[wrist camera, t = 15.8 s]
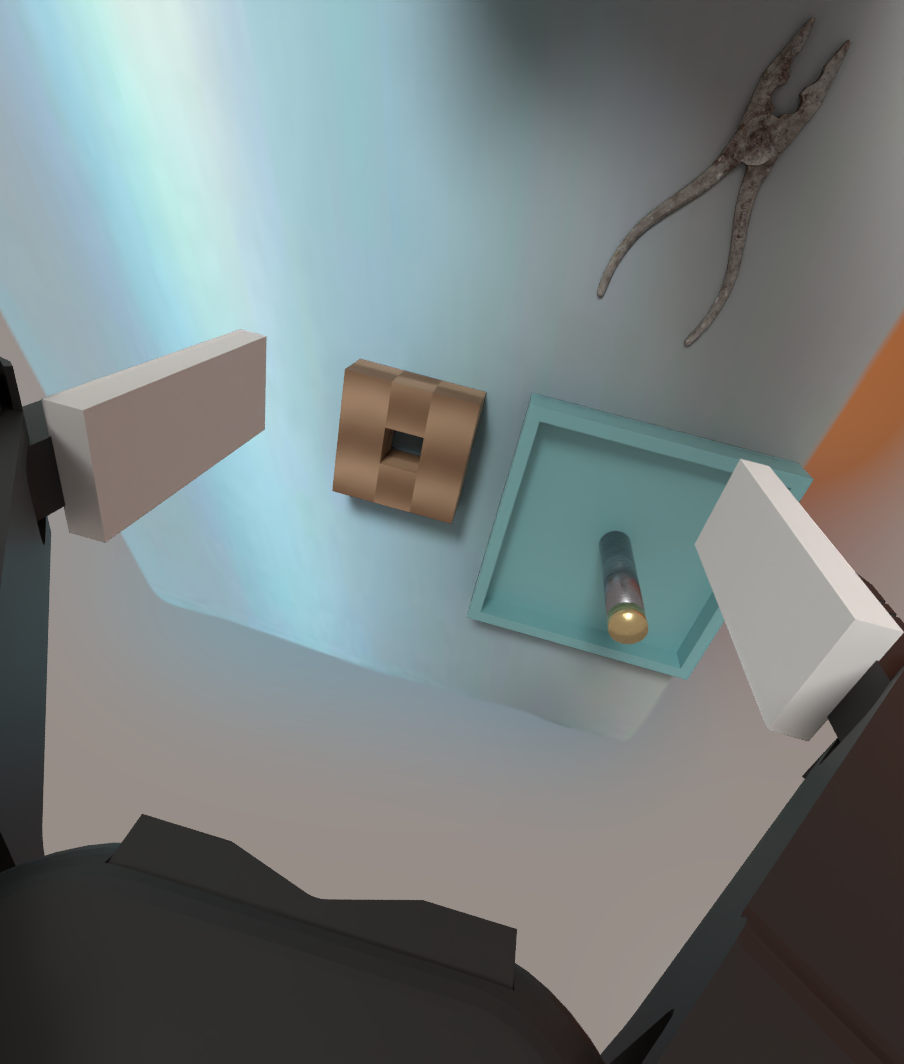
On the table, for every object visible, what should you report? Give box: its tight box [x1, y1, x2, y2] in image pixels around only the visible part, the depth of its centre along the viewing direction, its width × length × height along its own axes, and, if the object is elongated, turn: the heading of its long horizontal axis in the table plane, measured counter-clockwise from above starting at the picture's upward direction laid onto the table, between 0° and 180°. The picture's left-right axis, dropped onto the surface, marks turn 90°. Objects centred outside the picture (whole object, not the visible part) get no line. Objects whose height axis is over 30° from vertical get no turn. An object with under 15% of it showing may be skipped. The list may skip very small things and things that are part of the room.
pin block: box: [332, 359, 486, 524], centre depth 51 cm, size 12×12×4 cm
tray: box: [467, 393, 813, 680], centre depth 53 cm, size 24×24×4 cm
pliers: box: [597, 18, 851, 346], centre depth 39 cm, size 10×1×20 cm
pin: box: [599, 531, 648, 644], centre depth 48 cm, size 3×3×13 cm
